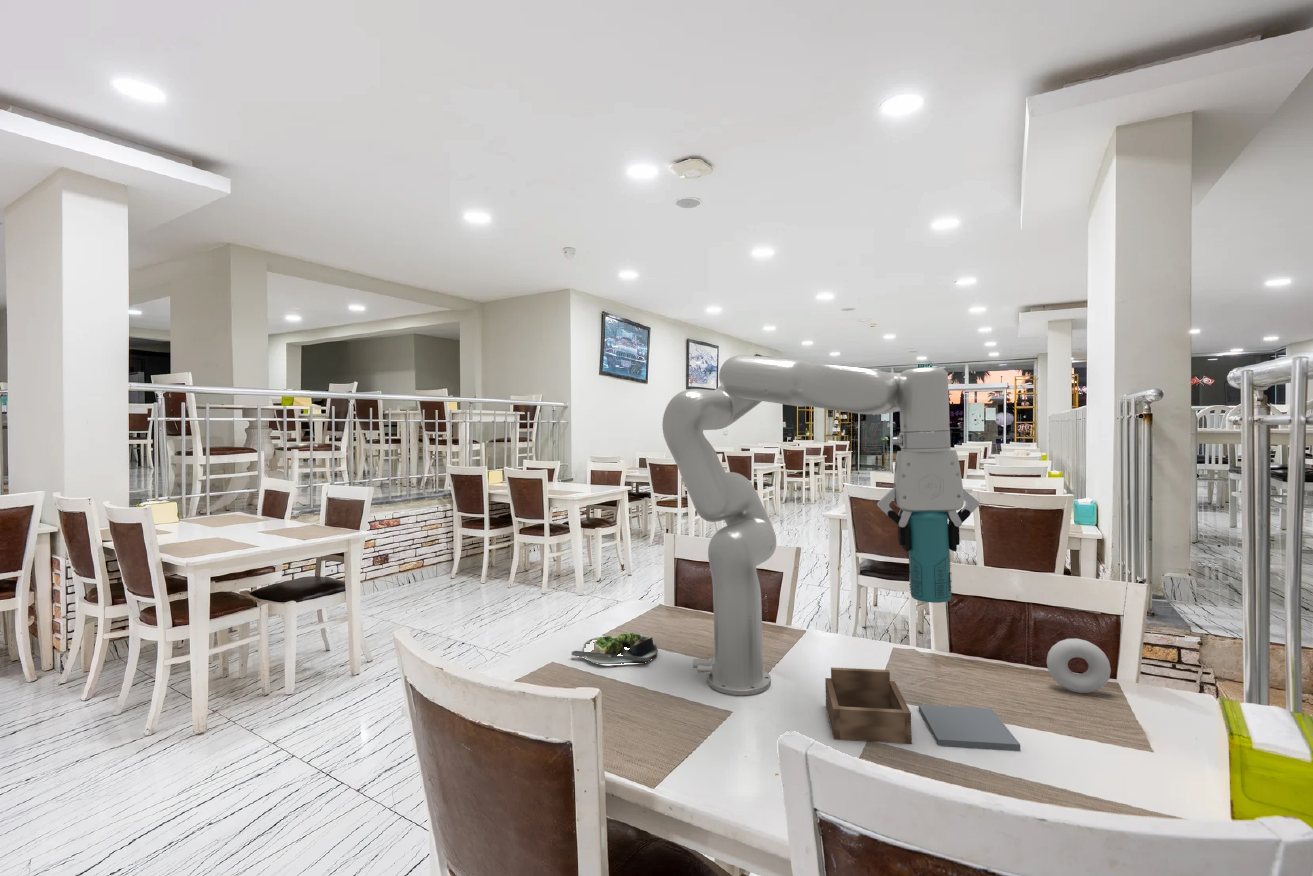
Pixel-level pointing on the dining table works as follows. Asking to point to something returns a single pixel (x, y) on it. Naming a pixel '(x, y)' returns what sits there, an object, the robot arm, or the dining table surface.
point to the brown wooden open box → (866, 706)
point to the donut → (1072, 681)
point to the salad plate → (620, 649)
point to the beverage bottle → (929, 557)
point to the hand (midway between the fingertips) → (928, 548)
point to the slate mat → (967, 727)
